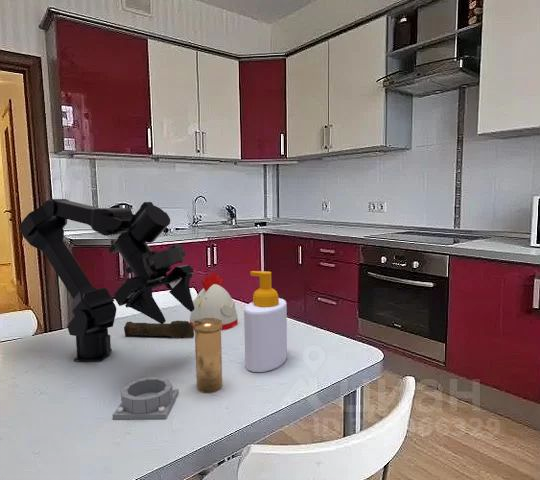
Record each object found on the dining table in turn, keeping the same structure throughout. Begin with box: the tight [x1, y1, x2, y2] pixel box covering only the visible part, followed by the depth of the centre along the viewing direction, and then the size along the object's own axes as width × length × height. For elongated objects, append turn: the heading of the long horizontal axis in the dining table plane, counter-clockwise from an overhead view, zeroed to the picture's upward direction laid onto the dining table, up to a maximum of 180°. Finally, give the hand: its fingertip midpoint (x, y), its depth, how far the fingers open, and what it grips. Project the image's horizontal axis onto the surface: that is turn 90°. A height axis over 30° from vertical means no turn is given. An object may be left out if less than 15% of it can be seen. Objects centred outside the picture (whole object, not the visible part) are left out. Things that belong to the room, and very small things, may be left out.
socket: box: [112, 376, 180, 420], centre depth 72 cm, size 9×9×3 cm
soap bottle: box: [243, 270, 288, 373], centre depth 90 cm, size 13×8×20 cm, turn 154°
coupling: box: [193, 318, 223, 394], centre depth 78 cm, size 5×5×13 cm
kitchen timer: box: [189, 272, 239, 331], centre depth 118 cm, size 14×14×15 cm
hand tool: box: [123, 320, 195, 339], centre depth 108 cm, size 19×4×5 cm, turn 79°
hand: (179, 316), depth 82 cm, fingers open, 9 cm apart
